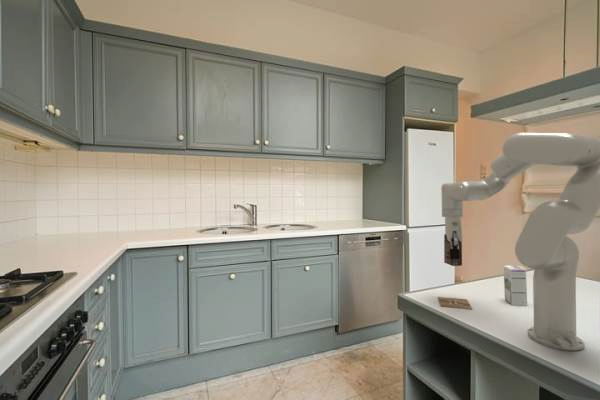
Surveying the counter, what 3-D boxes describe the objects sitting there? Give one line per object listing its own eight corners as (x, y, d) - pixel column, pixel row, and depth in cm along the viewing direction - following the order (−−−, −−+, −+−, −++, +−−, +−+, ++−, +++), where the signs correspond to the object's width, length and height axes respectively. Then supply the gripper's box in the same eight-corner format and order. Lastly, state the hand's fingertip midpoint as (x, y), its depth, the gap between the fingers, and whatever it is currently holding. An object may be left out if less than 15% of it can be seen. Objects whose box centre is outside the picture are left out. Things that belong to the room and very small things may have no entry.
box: (462, 265, 115) (462, 235, 115) (451, 266, 115) (451, 235, 115) (454, 262, 121) (453, 233, 121) (443, 262, 121) (443, 234, 121)
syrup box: (528, 305, 113) (527, 268, 113) (510, 305, 114) (510, 268, 114) (520, 300, 118) (519, 265, 118) (503, 300, 119) (503, 264, 119)
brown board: (472, 309, 110) (472, 308, 110) (440, 306, 114) (440, 305, 114) (466, 299, 121) (466, 299, 121) (437, 297, 124) (437, 296, 124)
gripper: (467, 214, 108) (468, 262, 108) (458, 212, 125) (459, 253, 125) (444, 214, 111) (445, 261, 111) (439, 212, 127) (440, 252, 127)
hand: (453, 256), depth 118 cm, fingers closed on box, 6 cm apart
